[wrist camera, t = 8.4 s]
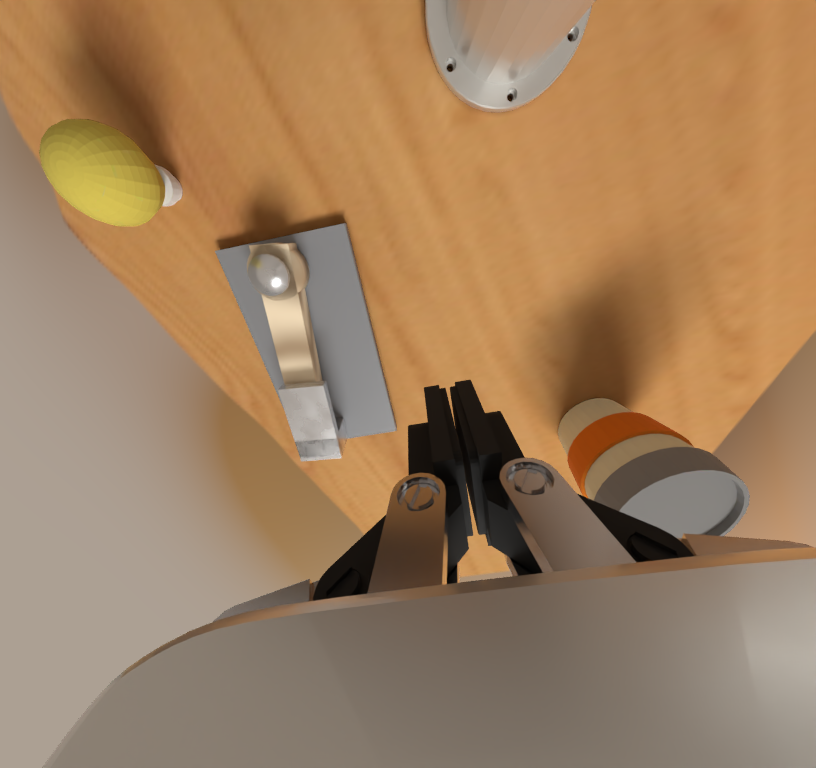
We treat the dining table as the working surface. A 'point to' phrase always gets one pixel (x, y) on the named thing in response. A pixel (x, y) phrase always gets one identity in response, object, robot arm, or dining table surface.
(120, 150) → the light bulb
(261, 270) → the pin cap
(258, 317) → the base board
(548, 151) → the dining table surface
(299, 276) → the arm link
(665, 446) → the reusable coffee cup
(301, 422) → the block
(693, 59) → the dining table surface
